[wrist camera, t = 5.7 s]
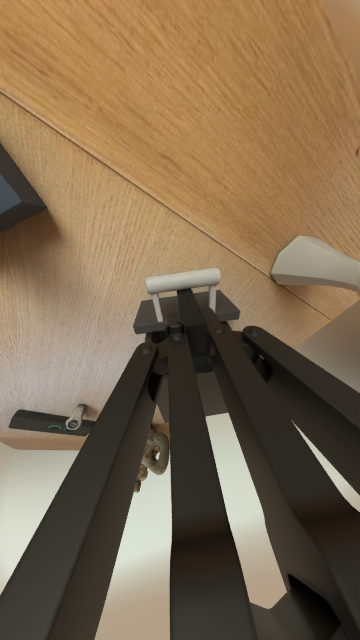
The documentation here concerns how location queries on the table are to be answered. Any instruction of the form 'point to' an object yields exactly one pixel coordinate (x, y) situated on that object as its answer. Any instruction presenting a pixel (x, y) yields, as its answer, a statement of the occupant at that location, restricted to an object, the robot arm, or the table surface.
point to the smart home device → (47, 423)
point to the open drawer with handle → (157, 310)
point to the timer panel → (15, 194)
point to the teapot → (153, 456)
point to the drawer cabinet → (208, 393)
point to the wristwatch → (76, 418)
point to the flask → (315, 265)
